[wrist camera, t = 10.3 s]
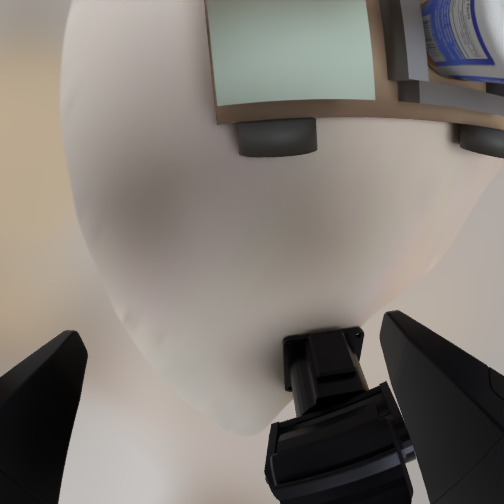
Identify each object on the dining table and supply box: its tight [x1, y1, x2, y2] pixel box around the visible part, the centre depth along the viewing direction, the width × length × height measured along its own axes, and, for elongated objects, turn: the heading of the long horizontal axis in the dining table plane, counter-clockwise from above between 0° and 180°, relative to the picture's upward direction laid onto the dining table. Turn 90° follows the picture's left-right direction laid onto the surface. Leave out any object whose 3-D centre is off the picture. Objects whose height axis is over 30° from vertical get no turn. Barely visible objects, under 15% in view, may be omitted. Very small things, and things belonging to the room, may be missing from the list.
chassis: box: [204, 0, 504, 158], centre depth 11 cm, size 14×20×6 cm
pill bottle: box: [420, 0, 504, 84], centre depth 9 cm, size 6×5×10 cm
